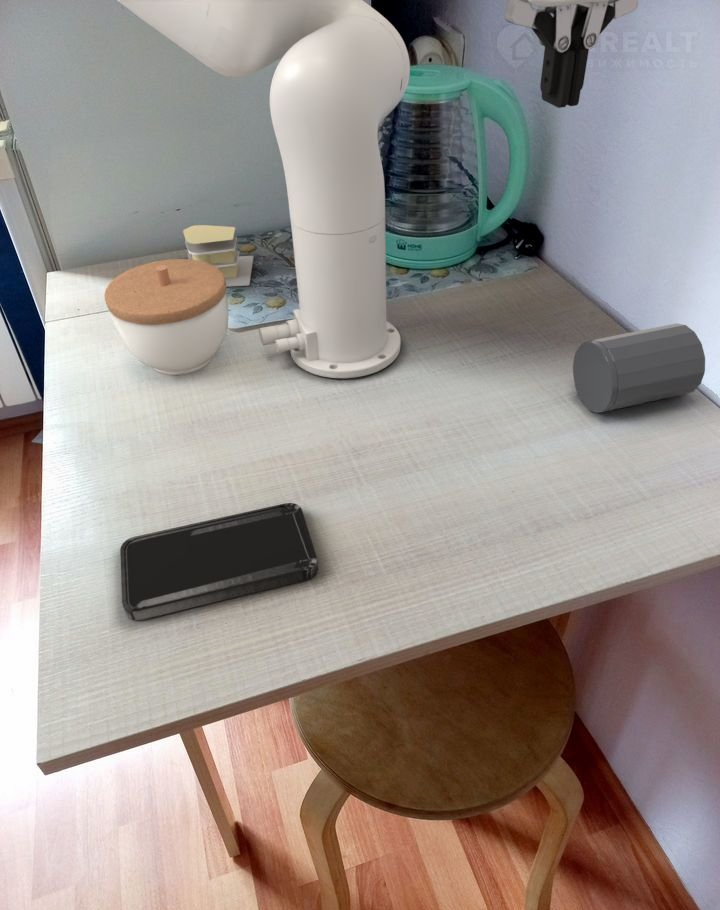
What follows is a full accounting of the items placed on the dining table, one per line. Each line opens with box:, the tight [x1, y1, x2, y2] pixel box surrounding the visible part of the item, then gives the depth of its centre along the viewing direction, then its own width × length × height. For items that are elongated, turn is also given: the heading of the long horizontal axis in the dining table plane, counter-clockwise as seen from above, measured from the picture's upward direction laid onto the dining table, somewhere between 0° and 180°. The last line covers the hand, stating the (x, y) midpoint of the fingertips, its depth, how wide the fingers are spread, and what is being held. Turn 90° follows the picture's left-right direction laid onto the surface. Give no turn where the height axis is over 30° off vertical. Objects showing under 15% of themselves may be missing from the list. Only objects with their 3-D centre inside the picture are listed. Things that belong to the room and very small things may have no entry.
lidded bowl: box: [104, 258, 229, 376], centre depth 77 cm, size 13×13×11 cm
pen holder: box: [572, 322, 706, 413], centre depth 70 cm, size 7×7×10 cm
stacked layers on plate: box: [182, 224, 254, 288], centre depth 95 cm, size 10×9×6 cm
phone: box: [119, 502, 319, 621], centre depth 57 cm, size 8×1×15 cm
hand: (559, 102), depth 58 cm, fingers closed
